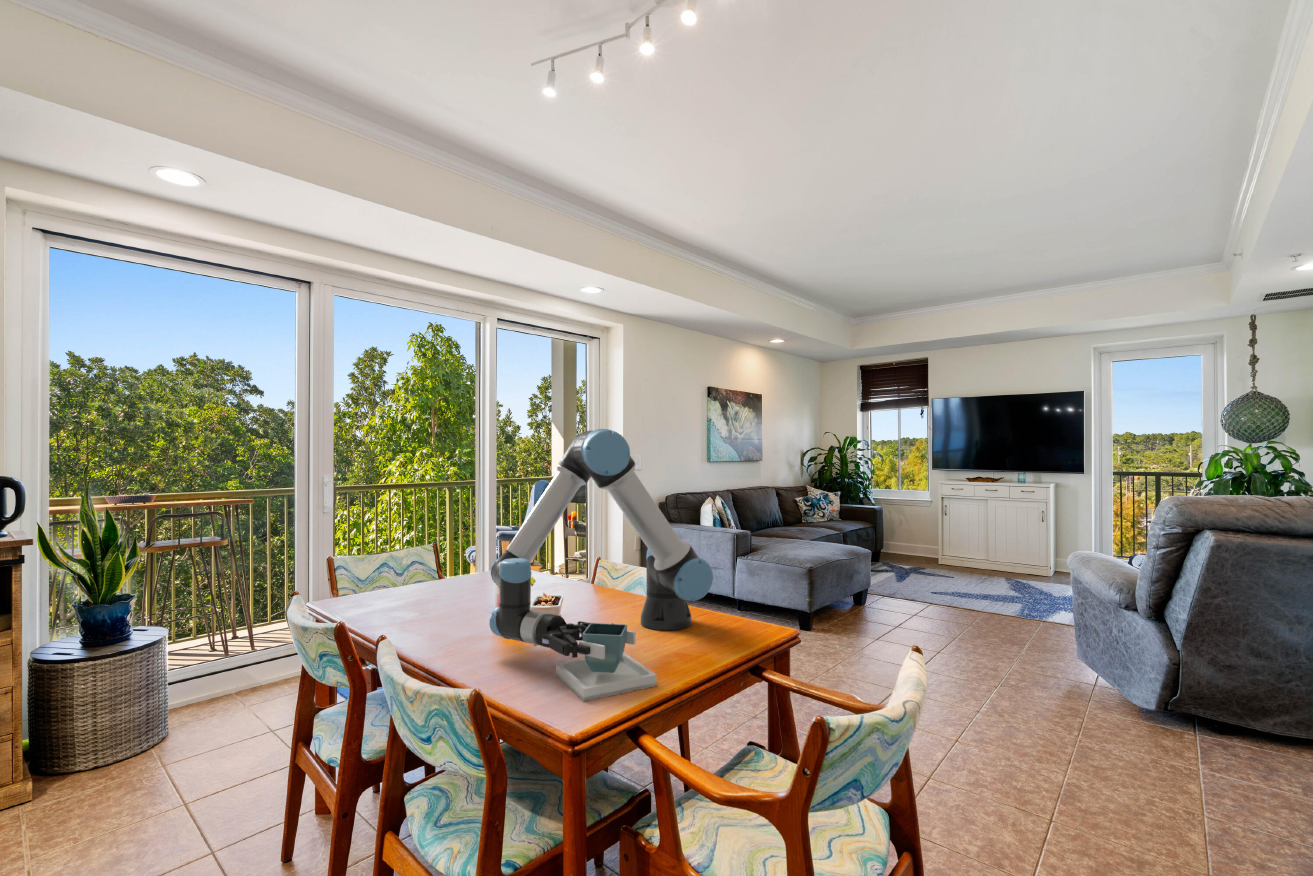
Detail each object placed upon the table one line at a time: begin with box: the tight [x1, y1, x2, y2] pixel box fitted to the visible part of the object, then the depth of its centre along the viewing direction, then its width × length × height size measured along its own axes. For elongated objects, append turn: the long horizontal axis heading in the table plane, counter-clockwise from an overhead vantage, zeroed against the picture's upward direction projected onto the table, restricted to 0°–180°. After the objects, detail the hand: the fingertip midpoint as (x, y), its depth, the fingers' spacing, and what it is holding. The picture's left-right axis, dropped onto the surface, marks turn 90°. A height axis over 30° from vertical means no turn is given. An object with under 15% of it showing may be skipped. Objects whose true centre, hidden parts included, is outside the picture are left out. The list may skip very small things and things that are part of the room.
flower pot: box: [582, 622, 628, 673], centre depth 136 cm, size 9×9×9 cm
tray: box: [555, 651, 658, 702], centre depth 136 cm, size 17×17×2 cm
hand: (619, 645), depth 134 cm, fingers closed on flower pot, 11 cm apart
